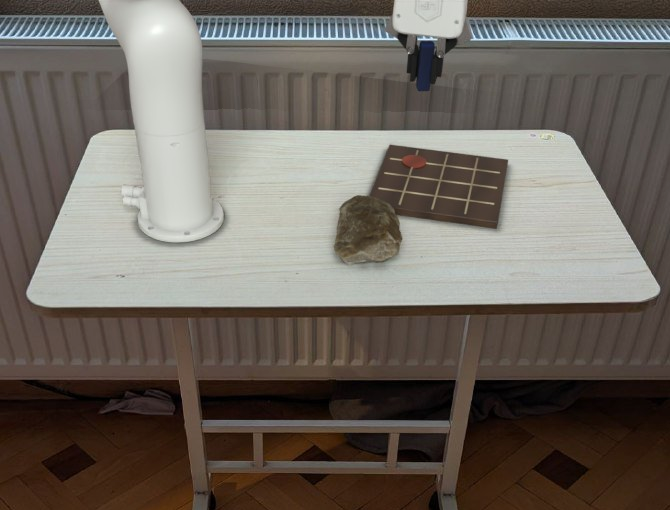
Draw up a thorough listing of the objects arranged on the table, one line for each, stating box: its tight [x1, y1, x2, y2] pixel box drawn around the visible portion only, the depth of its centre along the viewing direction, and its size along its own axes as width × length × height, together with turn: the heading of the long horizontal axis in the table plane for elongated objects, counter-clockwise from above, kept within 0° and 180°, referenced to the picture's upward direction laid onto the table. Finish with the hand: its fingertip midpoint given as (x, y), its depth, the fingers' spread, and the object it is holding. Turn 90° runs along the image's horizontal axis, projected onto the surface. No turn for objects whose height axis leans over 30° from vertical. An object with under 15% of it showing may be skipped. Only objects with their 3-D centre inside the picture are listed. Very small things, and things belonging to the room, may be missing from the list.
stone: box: [333, 194, 403, 266], centre depth 118 cm, size 13×8×8 cm
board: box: [368, 144, 509, 230], centre depth 132 cm, size 20×20×1 cm
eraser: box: [415, 40, 436, 92], centre depth 124 cm, size 2×2×7 cm
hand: (423, 78), depth 125 cm, fingers closed on eraser, 2 cm apart
